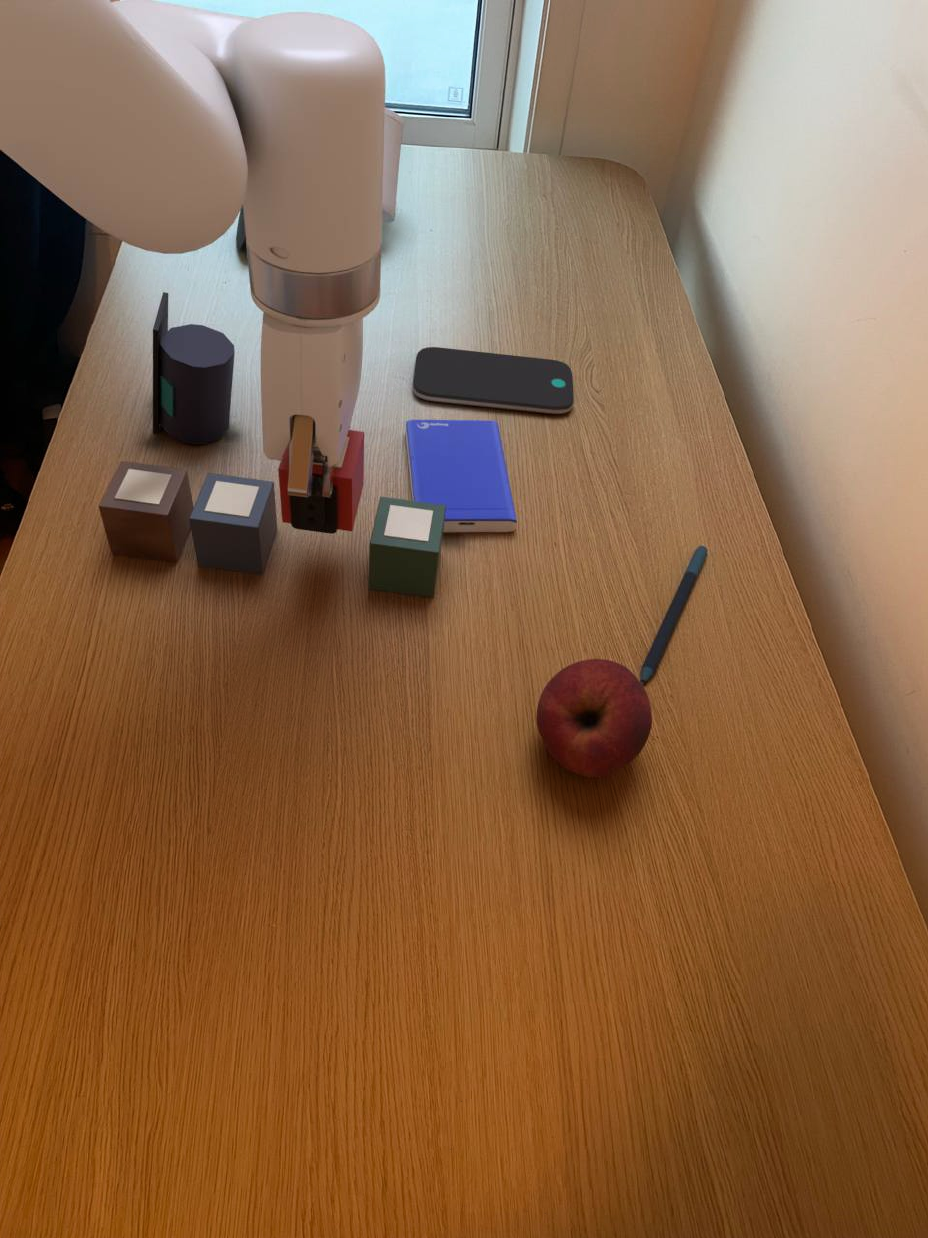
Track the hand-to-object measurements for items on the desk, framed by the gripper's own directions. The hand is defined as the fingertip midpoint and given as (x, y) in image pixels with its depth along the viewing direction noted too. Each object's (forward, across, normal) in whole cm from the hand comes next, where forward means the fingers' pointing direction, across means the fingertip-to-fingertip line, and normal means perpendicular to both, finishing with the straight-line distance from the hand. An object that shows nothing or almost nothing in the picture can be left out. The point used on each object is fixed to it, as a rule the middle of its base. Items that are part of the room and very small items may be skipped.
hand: (322, 498), depth 68 cm
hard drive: (+7, -11, +9) cm, 16 cm away
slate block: (+6, 0, -7) cm, 9 cm away
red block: (0, 0, 0) cm, 0 cm away
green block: (+6, 0, +6) cm, 9 cm away
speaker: (+6, -14, -14) cm, 21 cm away
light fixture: (+7, -49, -10) cm, 50 cm away
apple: (+7, +14, +20) cm, 26 cm away
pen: (+7, +1, +27) cm, 28 cm away
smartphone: (+6, -25, +11) cm, 28 cm away
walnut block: (+6, 0, -13) cm, 15 cm away
